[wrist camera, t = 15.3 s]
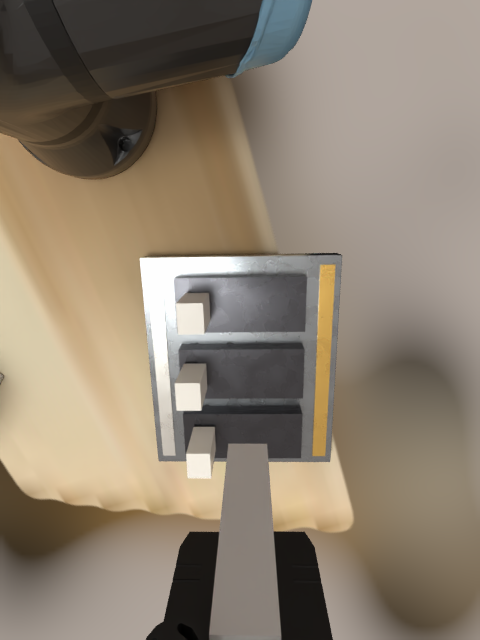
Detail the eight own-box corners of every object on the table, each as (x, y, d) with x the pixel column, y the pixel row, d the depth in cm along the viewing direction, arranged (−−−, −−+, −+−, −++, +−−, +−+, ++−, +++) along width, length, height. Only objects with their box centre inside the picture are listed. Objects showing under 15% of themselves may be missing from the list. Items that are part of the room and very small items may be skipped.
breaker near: (185, 293, 37) (175, 303, 32) (209, 292, 37) (202, 303, 32) (187, 320, 38) (177, 334, 33) (210, 320, 38) (204, 334, 33)
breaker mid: (183, 363, 39) (174, 383, 34) (206, 363, 39) (199, 383, 34) (185, 388, 40) (176, 410, 35) (207, 388, 40) (201, 410, 35)
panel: (146, 256, 41) (133, 260, 37) (336, 253, 40) (347, 256, 36) (163, 449, 48) (154, 471, 44) (326, 449, 47) (333, 472, 43)
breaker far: (193, 426, 41) (186, 453, 37) (214, 426, 41) (210, 453, 36) (194, 448, 42) (187, 478, 37) (215, 448, 42) (211, 478, 37)
